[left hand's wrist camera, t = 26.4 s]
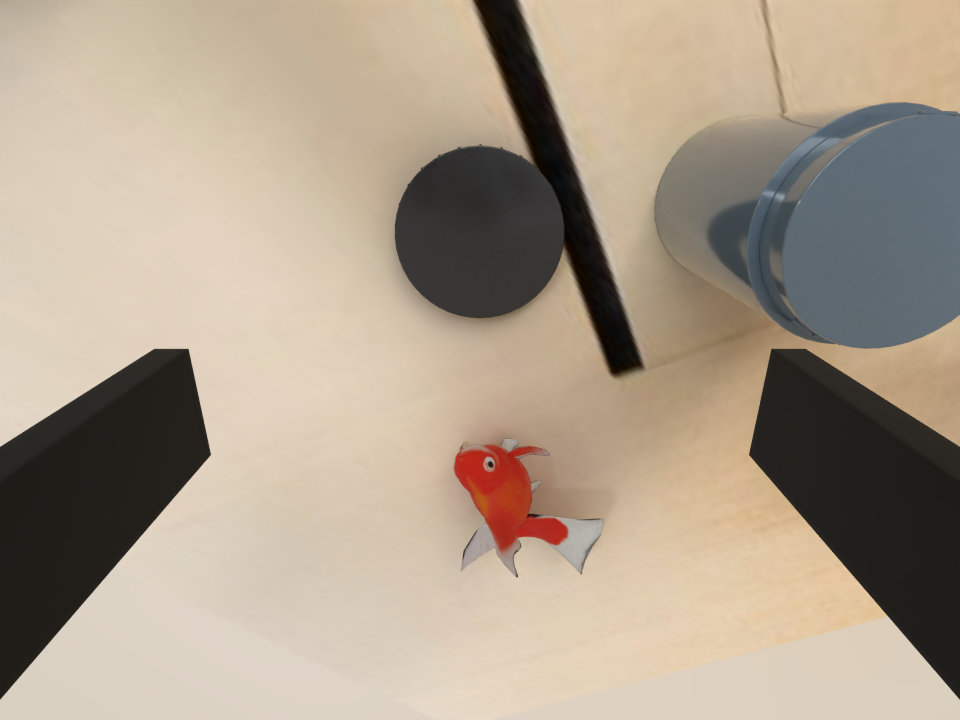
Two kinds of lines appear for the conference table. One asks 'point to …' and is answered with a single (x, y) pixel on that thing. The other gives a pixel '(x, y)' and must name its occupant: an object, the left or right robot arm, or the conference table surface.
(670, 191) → the jar
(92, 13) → the conference table surface
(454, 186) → the lid
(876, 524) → the left robot arm
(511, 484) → the fish
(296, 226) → the conference table surface
